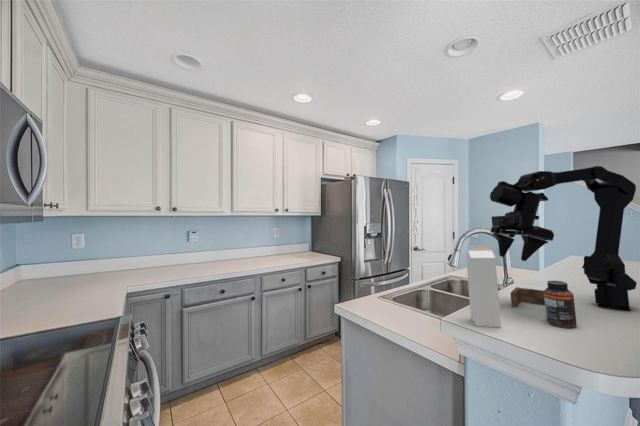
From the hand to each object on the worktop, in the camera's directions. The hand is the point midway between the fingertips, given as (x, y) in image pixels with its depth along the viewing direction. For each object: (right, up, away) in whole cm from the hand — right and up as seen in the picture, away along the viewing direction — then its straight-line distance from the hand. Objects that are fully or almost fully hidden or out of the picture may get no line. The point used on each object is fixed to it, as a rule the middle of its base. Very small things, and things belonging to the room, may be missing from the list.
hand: (511, 258), depth 80 cm
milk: (-13, -17, -8) cm, 23 cm away
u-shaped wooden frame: (+9, -16, +2) cm, 18 cm away
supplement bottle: (+5, -16, -11) cm, 20 cm away
